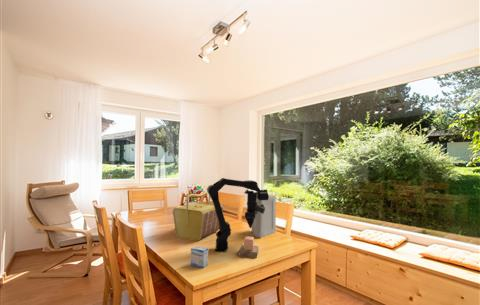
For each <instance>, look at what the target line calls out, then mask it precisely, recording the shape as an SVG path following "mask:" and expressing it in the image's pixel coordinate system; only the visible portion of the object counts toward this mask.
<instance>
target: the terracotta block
mask: <svg viewBox="0 0 480 305" xmlns="http://www.w3.org/2000/svg"><path fill="white" fill-rule="evenodd" d="M243 241H244V242H243V245H244V250H253V248H254V246H255V236H247V235H245V236H244V238H243Z"/></svg>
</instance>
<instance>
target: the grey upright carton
mask: <svg viewBox="0 0 480 305" xmlns="http://www.w3.org/2000/svg"><path fill="white" fill-rule="evenodd" d="M268 195H269V198H268V200H260V201H259V200H258V199H257V198H256V202H257V205H261V204H263V205H264V207H265V211H264V214H262V213H261V212H257V214H256V217H255V219H254V222H253V224H252V228H251V233H252V232H253V233H252V234H253V236H254V237H255V236H256V237H255V238H258V237H259V238H258V239H262V237H263V238H265V236H266V237H268V236H271V235H273V234H275V232H276V230H277V229H276V226H277V225H276V222H277V221H276V220H277V219H276V218H277V215H276V214H277V213H276V212H277V209H276V208H277V195H276V194H269V193H268ZM272 233H273V234H272ZM270 234H271V235H270ZM267 235H268V236H267Z"/></svg>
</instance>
